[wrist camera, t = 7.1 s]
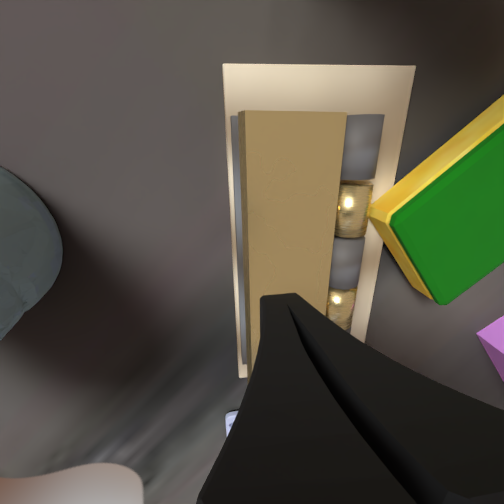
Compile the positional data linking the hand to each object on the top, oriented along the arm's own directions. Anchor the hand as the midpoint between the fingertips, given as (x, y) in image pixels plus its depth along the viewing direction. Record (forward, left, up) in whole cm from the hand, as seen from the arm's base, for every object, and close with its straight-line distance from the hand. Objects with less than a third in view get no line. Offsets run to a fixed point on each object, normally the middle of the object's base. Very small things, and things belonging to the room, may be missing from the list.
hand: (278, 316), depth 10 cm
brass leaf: (0, -2, -5) cm, 5 cm away
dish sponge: (+4, -14, -6) cm, 15 cm away
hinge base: (0, -3, -6) cm, 7 cm away
